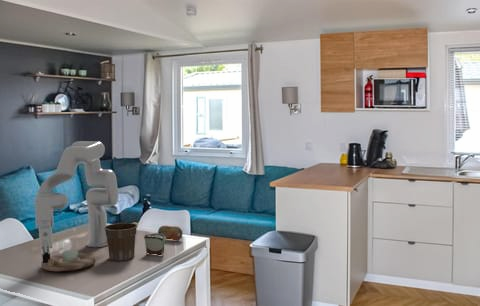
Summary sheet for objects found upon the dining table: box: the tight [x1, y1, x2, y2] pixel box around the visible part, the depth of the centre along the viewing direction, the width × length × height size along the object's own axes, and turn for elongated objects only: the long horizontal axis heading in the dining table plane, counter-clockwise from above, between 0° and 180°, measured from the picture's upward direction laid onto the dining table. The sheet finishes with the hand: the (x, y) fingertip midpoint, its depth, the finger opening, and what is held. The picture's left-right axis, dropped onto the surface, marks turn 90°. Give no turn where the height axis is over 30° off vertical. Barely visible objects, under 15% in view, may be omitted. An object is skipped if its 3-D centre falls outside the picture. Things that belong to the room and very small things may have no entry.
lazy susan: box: [41, 251, 96, 272], centre depth 218 cm, size 24×24×4 cm
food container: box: [143, 232, 166, 256], centre depth 237 cm, size 12×6×10 cm, turn 65°
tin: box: [157, 225, 183, 241], centre depth 263 cm, size 15×3×8 cm, turn 67°
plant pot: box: [104, 222, 138, 262], centre depth 231 cm, size 16×16×16 cm
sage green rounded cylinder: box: [61, 249, 79, 263], centre depth 217 cm, size 7×7×4 cm
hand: (46, 262), depth 211 cm, fingers closed
